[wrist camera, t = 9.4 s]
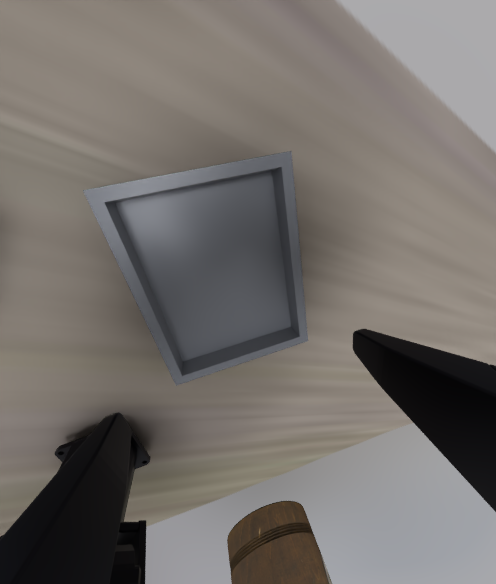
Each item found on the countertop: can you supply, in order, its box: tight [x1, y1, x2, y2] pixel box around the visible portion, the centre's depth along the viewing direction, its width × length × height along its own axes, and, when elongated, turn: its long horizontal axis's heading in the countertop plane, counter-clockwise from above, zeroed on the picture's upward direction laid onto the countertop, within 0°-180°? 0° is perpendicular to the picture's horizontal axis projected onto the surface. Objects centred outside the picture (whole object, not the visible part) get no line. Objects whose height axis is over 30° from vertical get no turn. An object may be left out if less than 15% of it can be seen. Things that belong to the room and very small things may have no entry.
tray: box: [83, 151, 308, 385], centre depth 17 cm, size 16×13×2 cm
